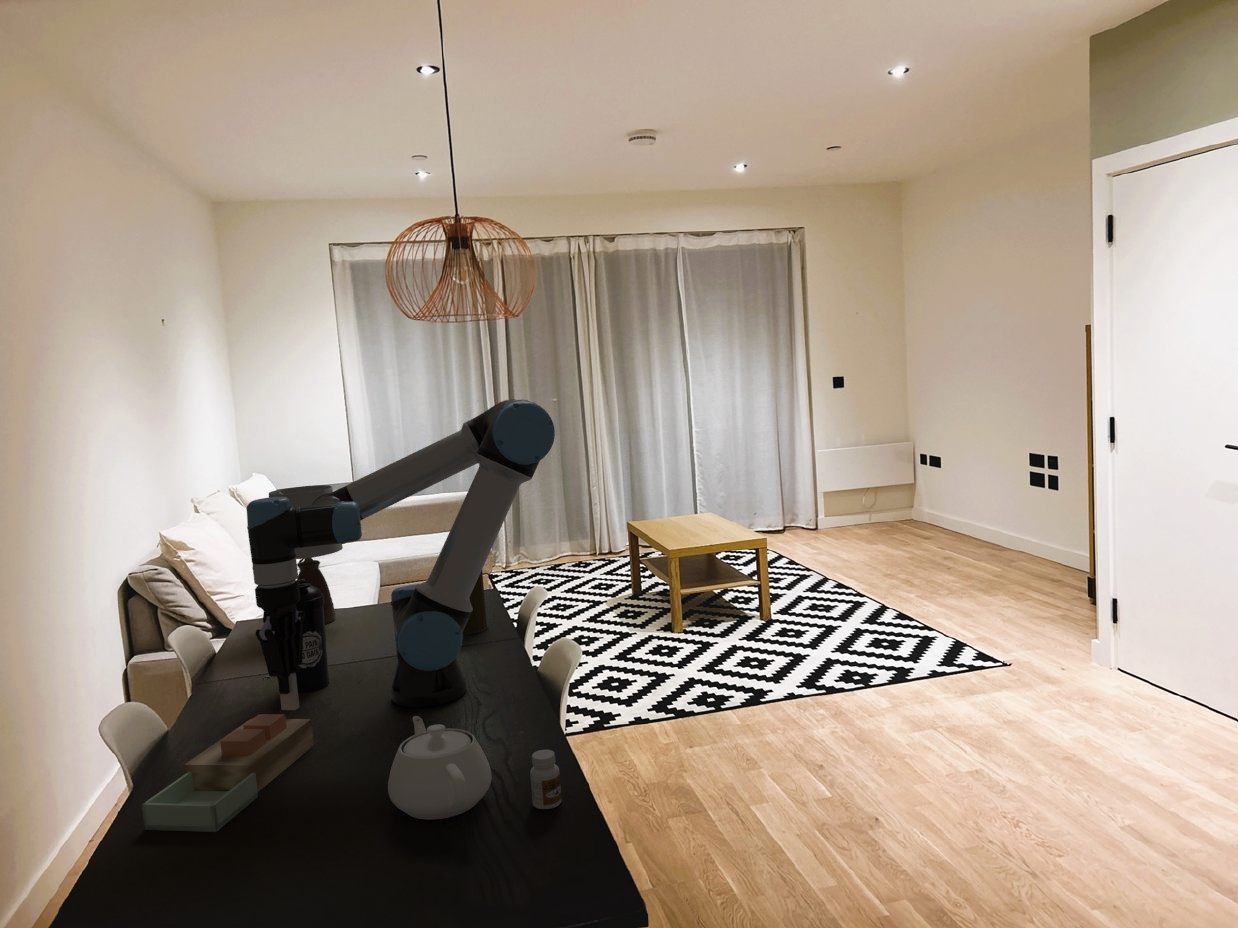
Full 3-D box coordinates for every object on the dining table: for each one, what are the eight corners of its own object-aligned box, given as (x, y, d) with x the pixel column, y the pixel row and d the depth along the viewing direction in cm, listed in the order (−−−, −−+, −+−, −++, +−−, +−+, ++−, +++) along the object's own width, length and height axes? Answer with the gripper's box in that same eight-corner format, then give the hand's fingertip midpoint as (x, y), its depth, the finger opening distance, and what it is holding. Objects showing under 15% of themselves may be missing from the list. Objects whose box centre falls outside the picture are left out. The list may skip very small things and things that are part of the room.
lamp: (363, 613, 257) (350, 484, 253) (317, 633, 240) (302, 494, 236) (312, 610, 265) (299, 484, 261) (264, 629, 248) (248, 495, 244)
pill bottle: (550, 812, 135) (546, 762, 134) (526, 806, 137) (522, 757, 136) (567, 799, 138) (563, 750, 137) (544, 794, 141) (540, 745, 140)
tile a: (286, 727, 162) (285, 714, 162) (270, 739, 157) (269, 725, 157) (260, 727, 163) (259, 714, 162) (244, 739, 158) (242, 725, 158)
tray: (258, 796, 147) (255, 772, 146) (216, 831, 136) (213, 806, 135) (191, 795, 149) (188, 771, 148) (145, 829, 138) (141, 804, 138)
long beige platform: (313, 745, 166) (311, 718, 165) (254, 794, 147) (250, 765, 147) (254, 744, 168) (250, 718, 167) (187, 793, 149) (184, 764, 149)
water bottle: (287, 697, 192) (275, 591, 190) (281, 684, 201) (269, 582, 199) (337, 687, 197) (325, 582, 194) (328, 674, 206) (317, 574, 203)
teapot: (516, 821, 133) (510, 740, 132) (410, 851, 126) (403, 766, 125) (464, 760, 155) (459, 690, 154) (372, 783, 148) (365, 710, 147)
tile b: (266, 743, 155) (264, 729, 155) (249, 755, 151) (247, 741, 150) (239, 742, 156) (237, 728, 156) (221, 755, 152) (220, 741, 151)
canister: (448, 626, 239) (441, 551, 237) (488, 622, 240) (482, 547, 238) (445, 638, 228) (438, 559, 226) (487, 633, 229) (480, 555, 227)
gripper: (277, 574, 172) (290, 695, 175) (236, 592, 160) (251, 722, 162) (313, 573, 171) (326, 695, 174) (275, 591, 158) (290, 722, 161)
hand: (290, 708), depth 168 cm, fingers closed
